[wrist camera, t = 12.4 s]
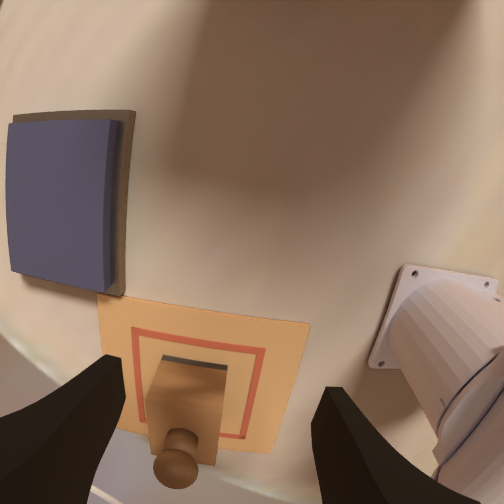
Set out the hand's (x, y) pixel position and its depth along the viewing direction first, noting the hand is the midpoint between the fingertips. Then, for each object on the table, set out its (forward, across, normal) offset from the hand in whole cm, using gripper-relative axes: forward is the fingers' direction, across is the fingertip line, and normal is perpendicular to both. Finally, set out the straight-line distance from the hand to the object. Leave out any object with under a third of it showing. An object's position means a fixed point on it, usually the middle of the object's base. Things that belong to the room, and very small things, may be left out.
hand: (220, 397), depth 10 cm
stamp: (+9, +2, +9) cm, 13 cm away
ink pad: (+9, +12, -4) cm, 15 cm away
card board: (+9, +2, +9) cm, 13 cm away
